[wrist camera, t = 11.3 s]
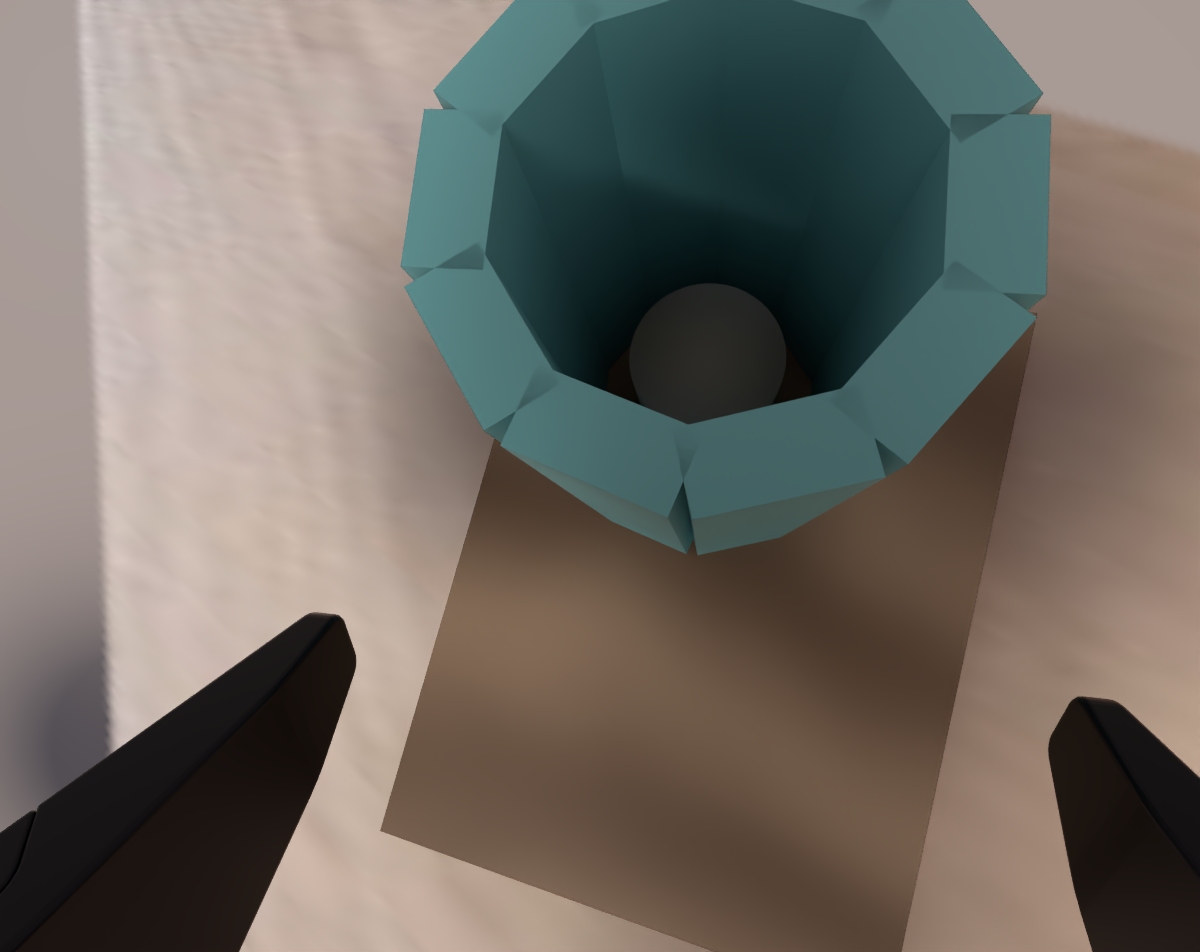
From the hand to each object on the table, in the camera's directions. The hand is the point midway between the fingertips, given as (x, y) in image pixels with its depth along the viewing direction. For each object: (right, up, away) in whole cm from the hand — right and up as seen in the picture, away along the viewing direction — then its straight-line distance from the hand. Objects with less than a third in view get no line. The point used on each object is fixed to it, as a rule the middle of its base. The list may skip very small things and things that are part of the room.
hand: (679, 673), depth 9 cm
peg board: (+2, 0, +9) cm, 9 cm away
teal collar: (+2, +4, +9) cm, 10 cm away
